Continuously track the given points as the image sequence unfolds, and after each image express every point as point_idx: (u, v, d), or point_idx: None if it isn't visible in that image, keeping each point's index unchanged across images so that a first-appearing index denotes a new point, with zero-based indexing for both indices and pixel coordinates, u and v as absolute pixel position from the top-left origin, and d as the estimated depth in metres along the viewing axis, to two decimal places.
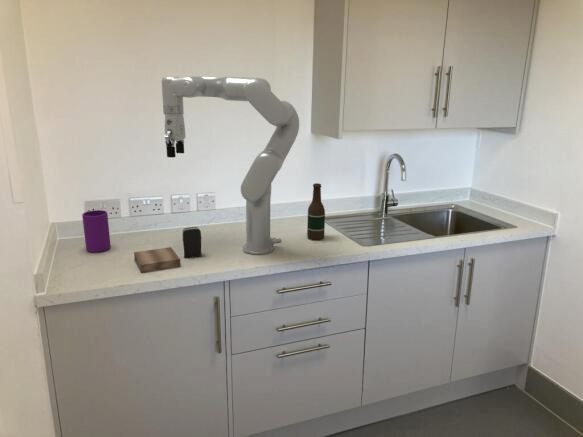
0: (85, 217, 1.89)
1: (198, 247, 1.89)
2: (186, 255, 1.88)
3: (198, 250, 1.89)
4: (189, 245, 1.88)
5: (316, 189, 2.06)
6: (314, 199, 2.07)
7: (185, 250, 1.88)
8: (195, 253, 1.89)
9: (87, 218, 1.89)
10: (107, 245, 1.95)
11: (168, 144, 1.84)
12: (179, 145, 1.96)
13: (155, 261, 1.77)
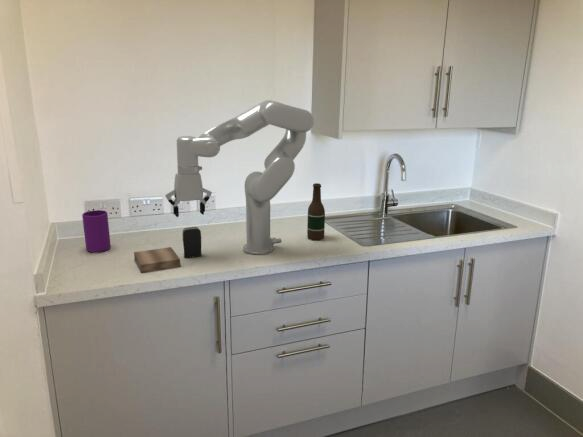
0: (85, 217, 1.89)
1: (198, 247, 1.89)
2: (186, 255, 1.88)
3: (198, 250, 1.89)
4: (189, 245, 1.88)
5: (316, 189, 2.06)
6: (314, 199, 2.07)
7: (185, 250, 1.88)
8: (195, 253, 1.89)
9: (87, 218, 1.89)
10: (107, 245, 1.95)
11: None
12: None
13: (155, 261, 1.77)
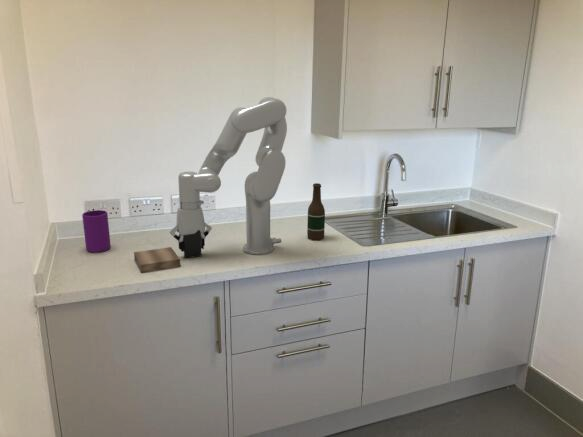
0: (85, 217, 1.89)
1: (198, 247, 1.89)
2: (186, 255, 1.88)
3: (198, 250, 1.89)
4: (189, 245, 1.88)
5: (316, 189, 2.06)
6: (314, 199, 2.07)
7: (185, 250, 1.88)
8: (195, 253, 1.89)
9: (87, 218, 1.89)
10: (107, 245, 1.95)
11: None
12: None
13: (155, 261, 1.77)
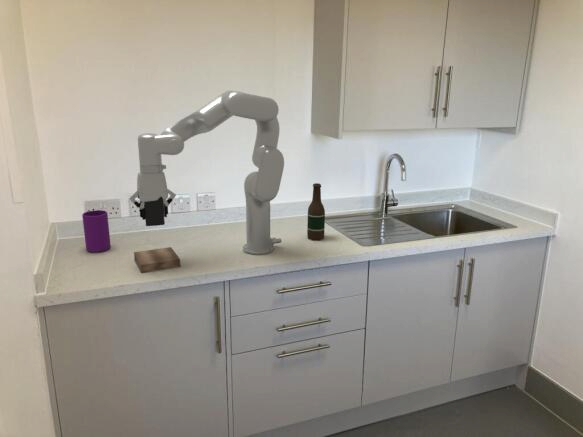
0: (85, 217, 1.89)
1: (160, 214, 1.77)
2: (148, 223, 1.76)
3: (161, 218, 1.77)
4: (150, 213, 1.76)
5: (316, 189, 2.06)
6: (314, 199, 2.07)
7: (146, 218, 1.76)
8: (157, 221, 1.77)
9: (87, 218, 1.89)
10: (107, 245, 1.95)
11: None
12: None
13: (155, 261, 1.77)
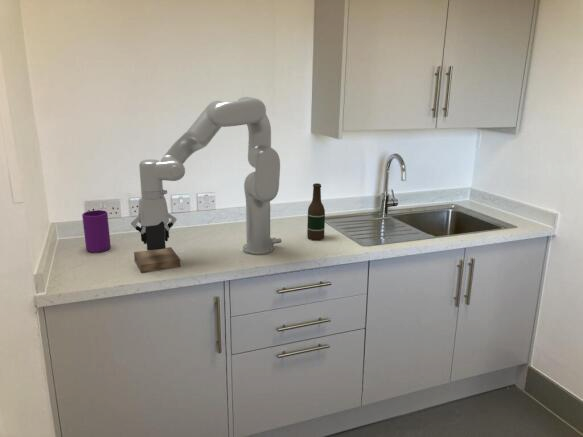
0: (85, 217, 1.89)
1: (161, 239, 1.80)
2: (149, 247, 1.79)
3: (162, 242, 1.80)
4: (151, 237, 1.78)
5: (316, 189, 2.06)
6: (314, 199, 2.07)
7: (148, 242, 1.78)
8: (158, 245, 1.80)
9: (87, 218, 1.89)
10: (107, 245, 1.95)
11: None
12: None
13: (155, 261, 1.77)
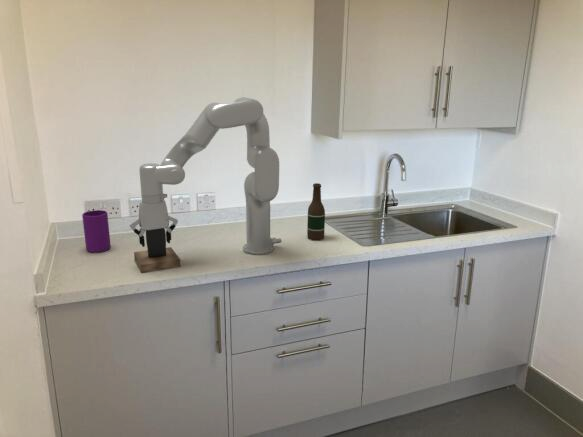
0: (85, 217, 1.89)
1: (162, 246, 1.81)
2: (150, 254, 1.80)
3: (163, 249, 1.81)
4: (152, 244, 1.79)
5: (316, 189, 2.06)
6: (314, 199, 2.07)
7: (149, 249, 1.79)
8: (159, 252, 1.81)
9: (87, 218, 1.89)
10: (107, 245, 1.95)
11: None
12: None
13: (155, 261, 1.77)
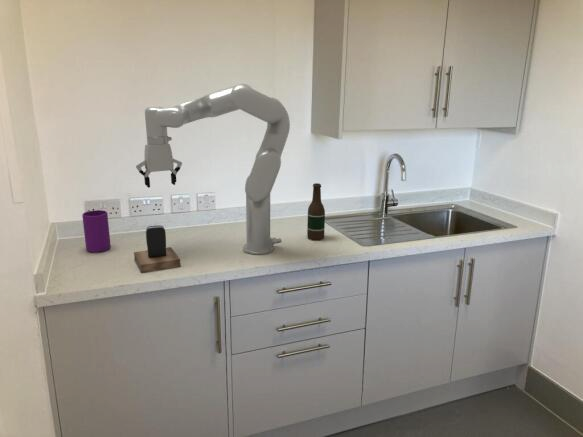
0: (85, 217, 1.89)
1: (162, 246, 1.80)
2: (150, 255, 1.80)
3: (163, 249, 1.81)
4: (152, 244, 1.79)
5: (316, 189, 2.06)
6: (314, 199, 2.07)
7: (149, 249, 1.79)
8: (159, 252, 1.81)
9: (87, 218, 1.89)
10: (107, 245, 1.95)
11: None
12: None
13: (155, 261, 1.77)
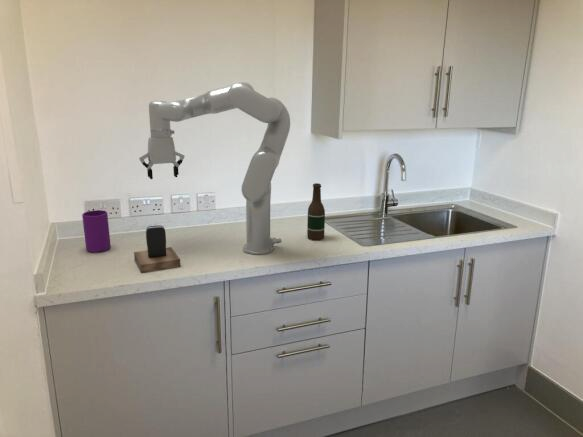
0: (85, 217, 1.89)
1: (162, 246, 1.80)
2: (150, 255, 1.80)
3: (163, 249, 1.81)
4: (152, 244, 1.79)
5: (316, 189, 2.06)
6: (314, 199, 2.07)
7: (149, 249, 1.79)
8: (159, 252, 1.81)
9: (87, 218, 1.89)
10: (107, 245, 1.95)
11: None
12: None
13: (155, 261, 1.77)
